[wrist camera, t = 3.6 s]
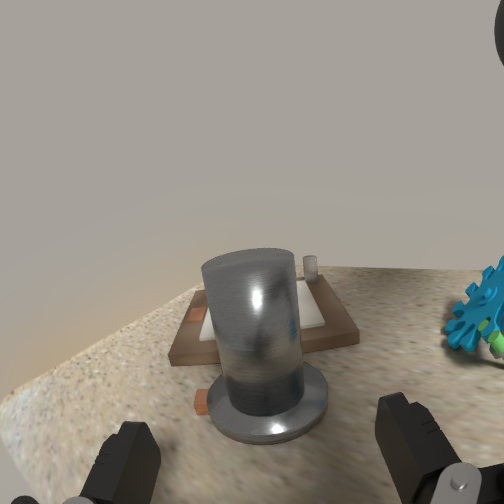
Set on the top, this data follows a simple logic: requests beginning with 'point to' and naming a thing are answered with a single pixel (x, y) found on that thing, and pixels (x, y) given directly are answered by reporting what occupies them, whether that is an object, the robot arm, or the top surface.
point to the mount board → (311, 322)
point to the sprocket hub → (259, 350)
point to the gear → (481, 314)
